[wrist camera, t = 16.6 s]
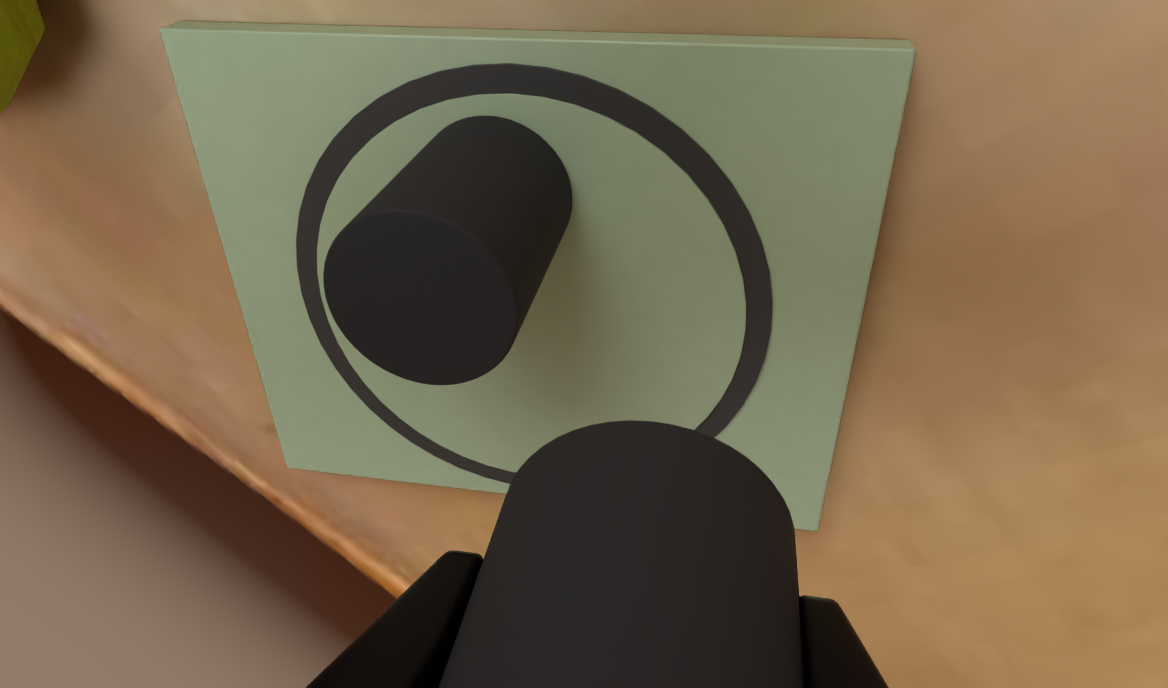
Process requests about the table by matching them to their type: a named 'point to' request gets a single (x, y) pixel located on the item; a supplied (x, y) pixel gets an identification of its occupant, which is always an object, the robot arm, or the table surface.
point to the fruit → (17, 43)
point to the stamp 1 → (451, 252)
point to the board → (589, 245)
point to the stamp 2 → (635, 570)
